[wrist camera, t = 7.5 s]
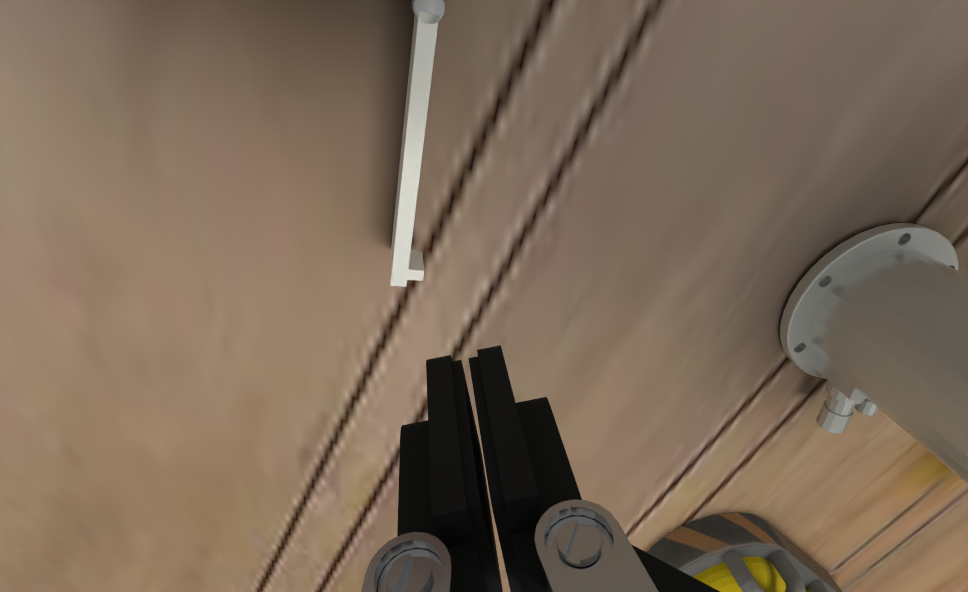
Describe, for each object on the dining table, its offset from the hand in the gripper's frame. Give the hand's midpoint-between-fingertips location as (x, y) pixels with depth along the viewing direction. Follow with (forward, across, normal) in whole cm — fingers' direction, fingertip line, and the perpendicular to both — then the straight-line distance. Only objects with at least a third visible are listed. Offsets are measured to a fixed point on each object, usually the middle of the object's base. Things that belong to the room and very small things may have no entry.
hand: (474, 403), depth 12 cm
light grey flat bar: (+19, +1, -2) cm, 19 cm away
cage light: (+21, -23, +51) cm, 60 cm away
